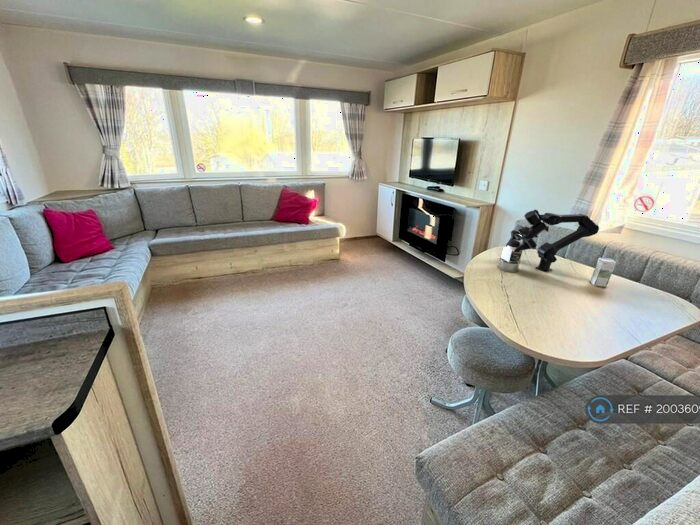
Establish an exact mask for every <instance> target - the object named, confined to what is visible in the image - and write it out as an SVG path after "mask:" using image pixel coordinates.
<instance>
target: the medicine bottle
mask: <svg viewBox="0 0 700 525" xmlns="http://www.w3.org/2000/svg"><path fill="white" fill-rule="evenodd" d="M508 241H509V242H507V243H508V246H503V248H502V252H501V257H500V258H502V259H504V260H505V261H507V262H520V261H521V259H520V258H522V256H521V254H522V255H523V253H522V251H518V252H515V251H514V250H515V249H516V248H517V247H518V246H520V243H521V242H520V241H518V240H514V239H512V240H510V239H508ZM520 263H521V262H520Z"/></svg>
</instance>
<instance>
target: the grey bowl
mask: <svg viewBox="0 0 700 525" xmlns="http://www.w3.org/2000/svg"><path fill="white" fill-rule="evenodd" d="M520 263H521V262H507V261H505V260H504V259H502V258H501V257H500V258H499V262H498V265H497V268H498V269H499V270H501V271H504V272H508V273H517V272H518V270H519V267H520Z"/></svg>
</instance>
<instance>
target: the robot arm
mask: <svg viewBox="0 0 700 525" xmlns="http://www.w3.org/2000/svg"><path fill="white" fill-rule="evenodd" d="M523 217H524V218H525V220H526V221H527V223H528V224H529V225H530V226H526V225H525V226H522V225H520V224H517V225H516V226H515V227H514V229H512V230H510V238H509V240H512V239H514V240H518V241H519V240H523V242H522V244H521V245H520V246H518V247H517V248H516V249H515V250H514V251H515V252H518V251H522V250H523V251H526V250H535V249H536V248H537V245H538V244H537V243H536V241H535V240H534V238H538V235H539V234H541V233H543V231H545V232H549V228H550V226H556V225H560V224H563V223H564V224H565V223H577V224H578V227H577V228H576V230H575V231H572V232H571V233H569V234H567V235H565V236H564V237H562V238H560V239H558V240H556V241H554V242H553V243H549V242H544V243H543V244H542V245H540V246H539V247H538V248H537V250H536V251H537V256H538V258H539V259H540V260H539V263H538V266H536V267H535V269H536V270H539V271H543V272H546V273H548V272H550V271H552V270H553V269H552V268H551V266H552V264H553V263H556V261H558V259H557V257H556V255H557V254H558V252H559V251H560V250H563V249H564V248H566V247H567V246H569V245H571V244H573V243H575V242H577V241H579V240H581V239H582V238H587V237H588V238H589V237H592V236H594V235H597V234H598V233H599V230H600V226H599V225H598V224H596V223H595V221H593V220H592V219H591V218H590V217H589V216H588V215H586V214H584V213H577V214H558V213H554V212H553V213H552V212H545V213H544V214H540V213H539V210H538V209H533V210H530V211H527V212H526V213H525V214H524V216H523ZM548 225H549V226H548ZM509 240H508V242H509ZM508 242H507V243H506V244H505V247H508Z"/></svg>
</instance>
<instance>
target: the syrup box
mask: <svg viewBox="0 0 700 525" xmlns="http://www.w3.org/2000/svg"><path fill="white" fill-rule="evenodd" d="M616 264H617V262H616V261H615V260H614V259H613V258H607V257H598V258H597V262H596V265H595V267H594V270H593V272H592V274H591V278H590V280H589V283H591V284H592V285H593V286H595V287H601V288H607V287H608V284H609V281H610V280H611V276H612V275H613V272H614V269H615V267H616Z"/></svg>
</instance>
